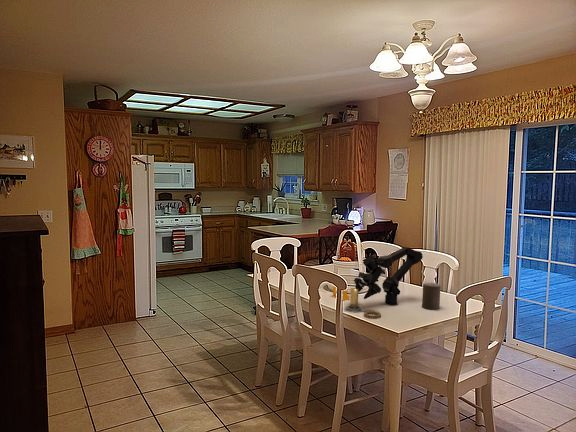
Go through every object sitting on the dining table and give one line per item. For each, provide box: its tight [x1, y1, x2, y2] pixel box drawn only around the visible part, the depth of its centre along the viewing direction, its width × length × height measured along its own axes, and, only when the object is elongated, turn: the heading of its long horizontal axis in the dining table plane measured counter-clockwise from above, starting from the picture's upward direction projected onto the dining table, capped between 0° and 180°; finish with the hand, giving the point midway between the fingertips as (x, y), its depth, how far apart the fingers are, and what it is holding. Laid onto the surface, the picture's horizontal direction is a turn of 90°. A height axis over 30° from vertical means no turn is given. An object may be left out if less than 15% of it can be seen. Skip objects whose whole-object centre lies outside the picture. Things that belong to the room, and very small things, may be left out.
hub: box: [344, 304, 364, 313], centre depth 244 cm, size 10×10×1 cm
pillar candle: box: [421, 282, 441, 311], centre depth 250 cm, size 10×10×15 cm
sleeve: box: [349, 287, 359, 309], centre depth 244 cm, size 4×4×12 cm
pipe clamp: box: [332, 285, 350, 302], centre depth 268 cm, size 12×4×6 cm, turn 26°
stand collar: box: [363, 310, 382, 320], centre depth 233 cm, size 9×9×1 cm
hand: (359, 296), depth 245 cm, fingers open, 9 cm apart
